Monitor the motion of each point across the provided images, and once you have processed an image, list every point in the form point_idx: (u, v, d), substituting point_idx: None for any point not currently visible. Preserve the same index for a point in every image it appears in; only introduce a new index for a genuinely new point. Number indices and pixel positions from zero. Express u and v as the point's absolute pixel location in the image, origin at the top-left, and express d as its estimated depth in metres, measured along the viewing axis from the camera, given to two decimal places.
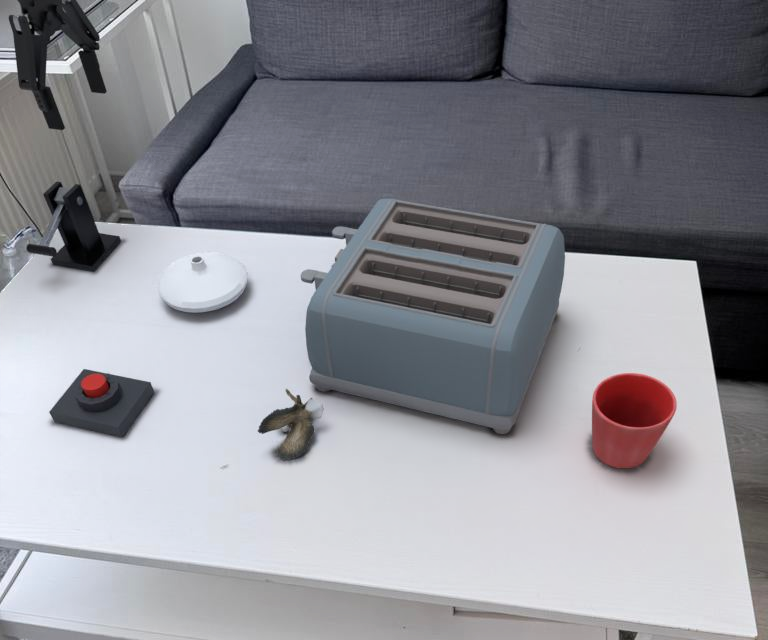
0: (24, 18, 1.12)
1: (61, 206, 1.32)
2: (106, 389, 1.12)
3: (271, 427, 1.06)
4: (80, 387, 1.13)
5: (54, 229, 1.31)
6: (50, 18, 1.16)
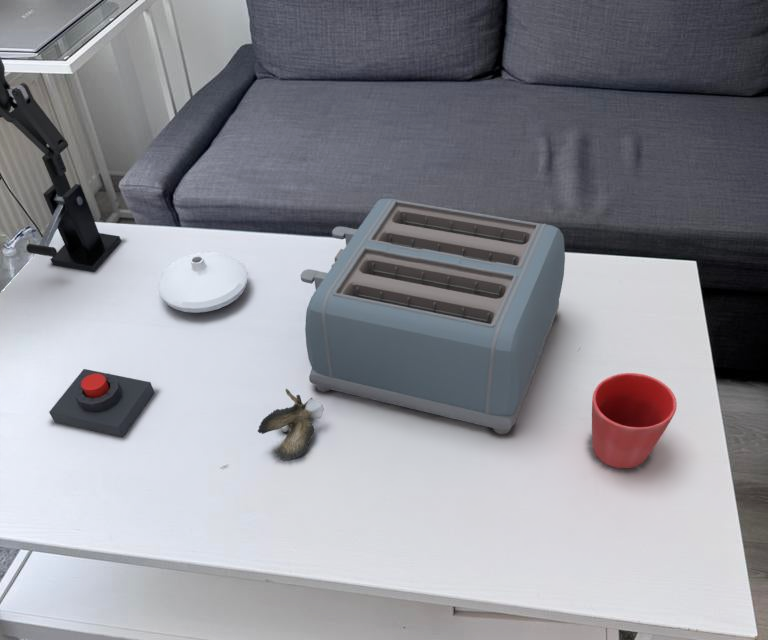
0: None
1: (61, 206, 1.32)
2: (106, 389, 1.12)
3: (271, 427, 1.06)
4: (80, 387, 1.13)
5: (54, 229, 1.31)
6: None
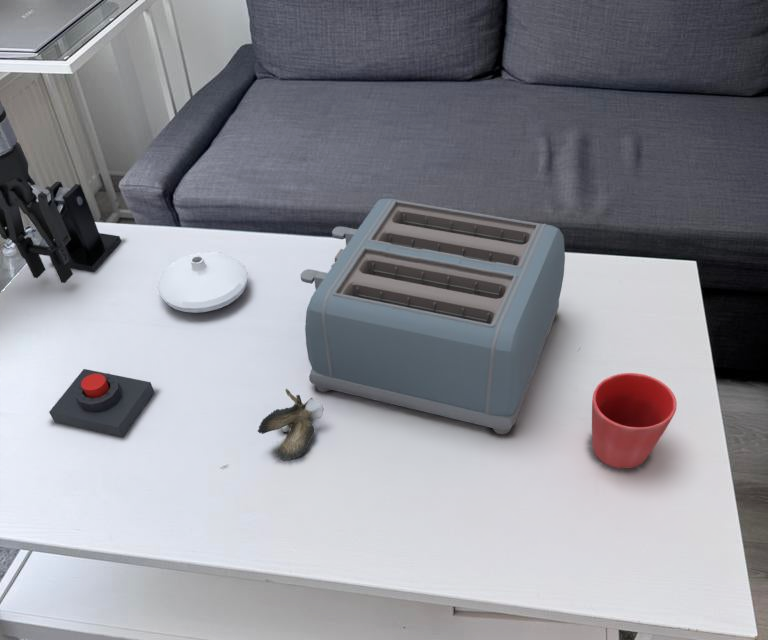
0: None
1: (61, 206, 1.32)
2: (106, 389, 1.12)
3: (271, 427, 1.06)
4: (80, 387, 1.13)
5: None
6: None
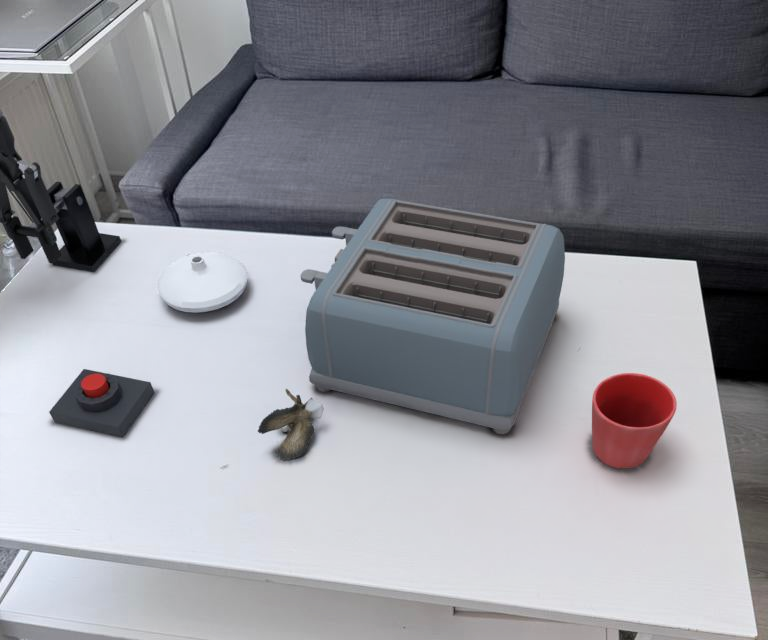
0: None
1: (59, 202, 1.31)
2: (106, 389, 1.12)
3: (271, 427, 1.06)
4: (80, 387, 1.13)
5: None
6: None
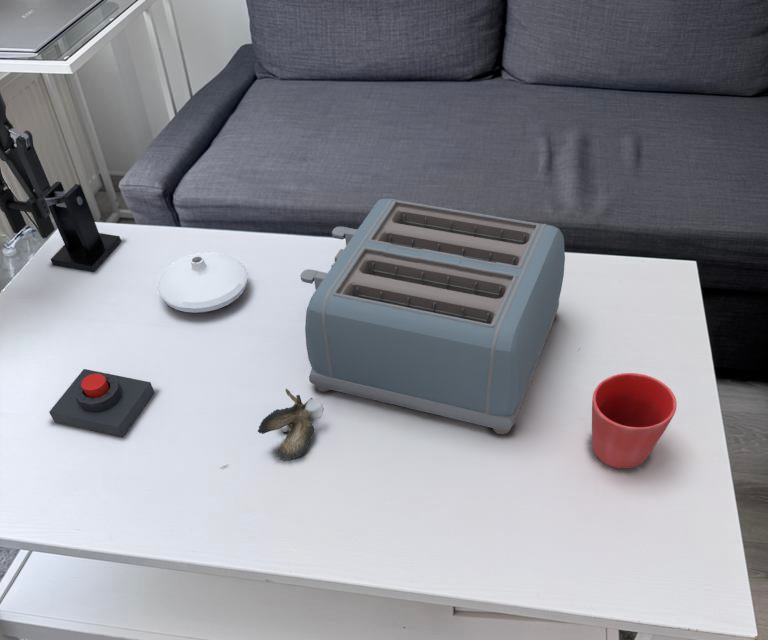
0: None
1: (59, 197, 1.31)
2: (106, 389, 1.12)
3: (271, 427, 1.06)
4: (80, 387, 1.13)
5: None
6: None
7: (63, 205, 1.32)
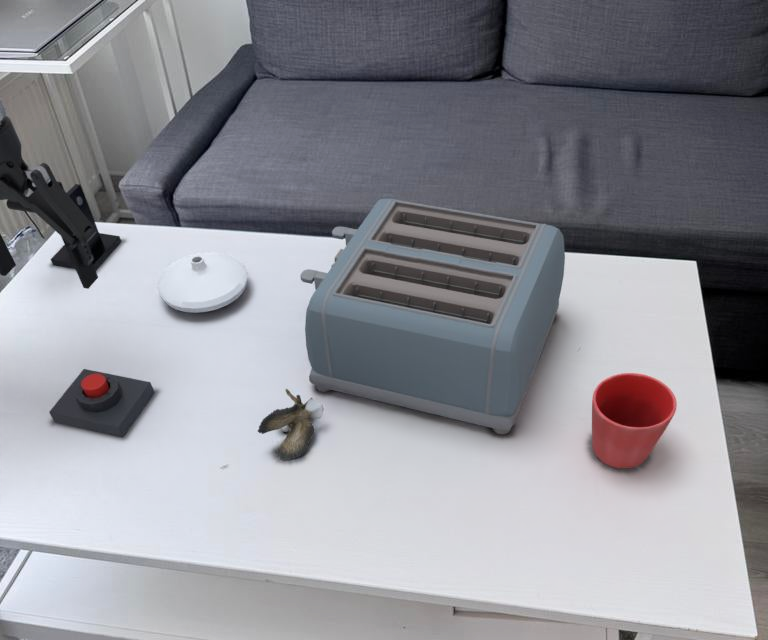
0: None
1: None
2: (106, 389, 1.12)
3: (271, 427, 1.06)
4: (80, 387, 1.13)
5: None
6: None
7: None
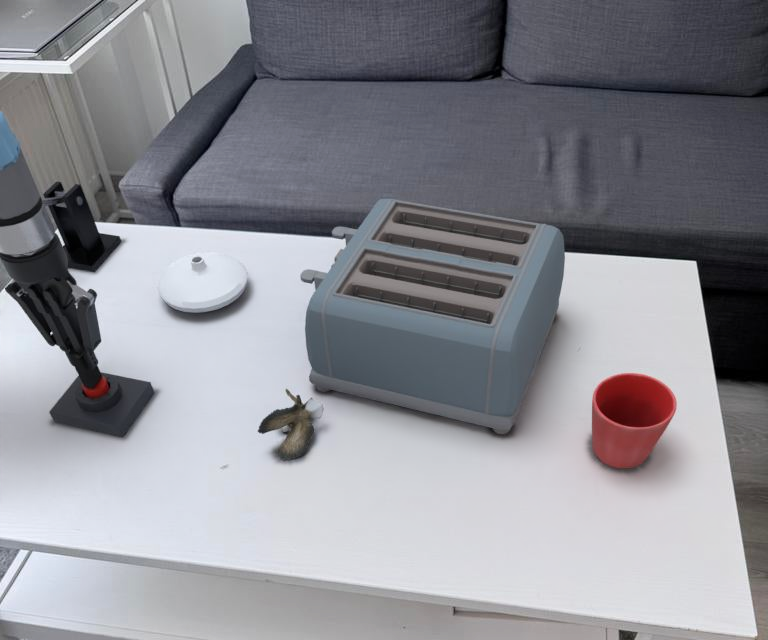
0: (93, 291, 0.98)
1: (59, 197, 1.31)
2: (107, 390, 1.13)
3: (271, 427, 1.06)
4: (80, 387, 1.13)
5: None
6: None
7: (63, 205, 1.32)
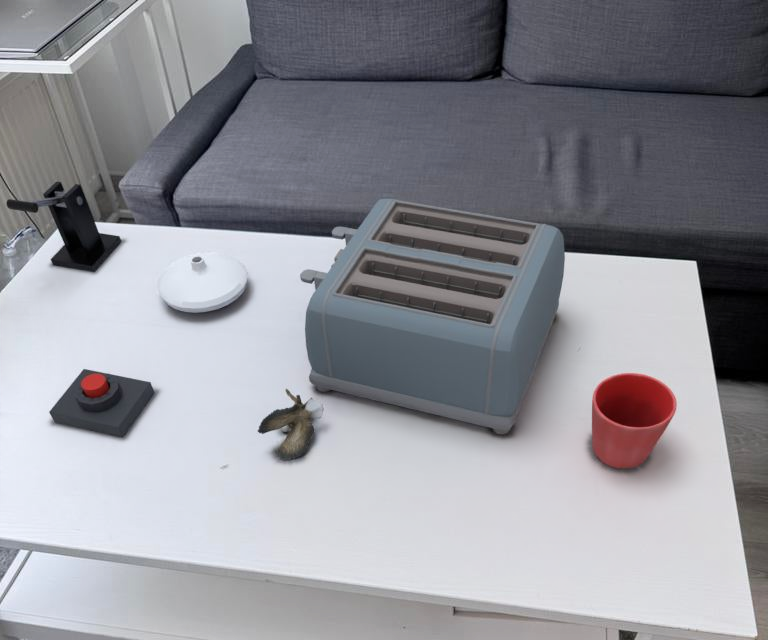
0: None
1: (59, 197, 1.31)
2: (106, 389, 1.12)
3: (271, 427, 1.06)
4: (80, 387, 1.13)
5: (43, 203, 1.27)
6: None
7: (63, 205, 1.32)
